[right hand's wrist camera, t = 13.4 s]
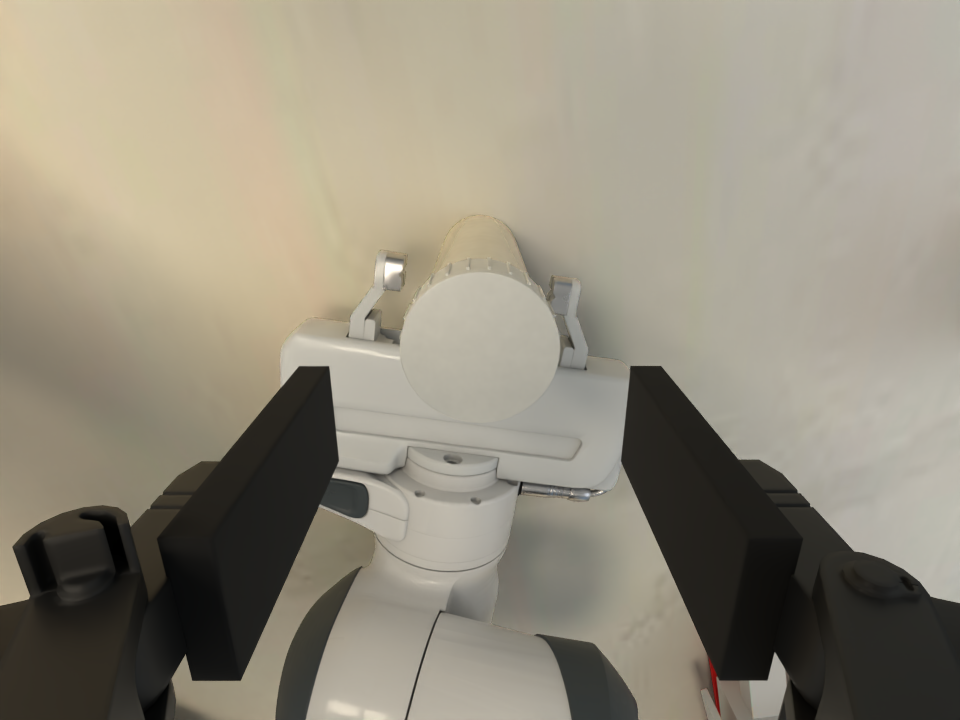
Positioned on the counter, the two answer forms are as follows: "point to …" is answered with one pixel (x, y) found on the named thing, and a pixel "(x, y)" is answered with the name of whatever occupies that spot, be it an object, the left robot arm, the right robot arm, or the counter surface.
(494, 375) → the lid
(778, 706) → the toy
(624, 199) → the counter surface
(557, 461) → the left robot arm
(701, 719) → the counter surface
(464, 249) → the jar
